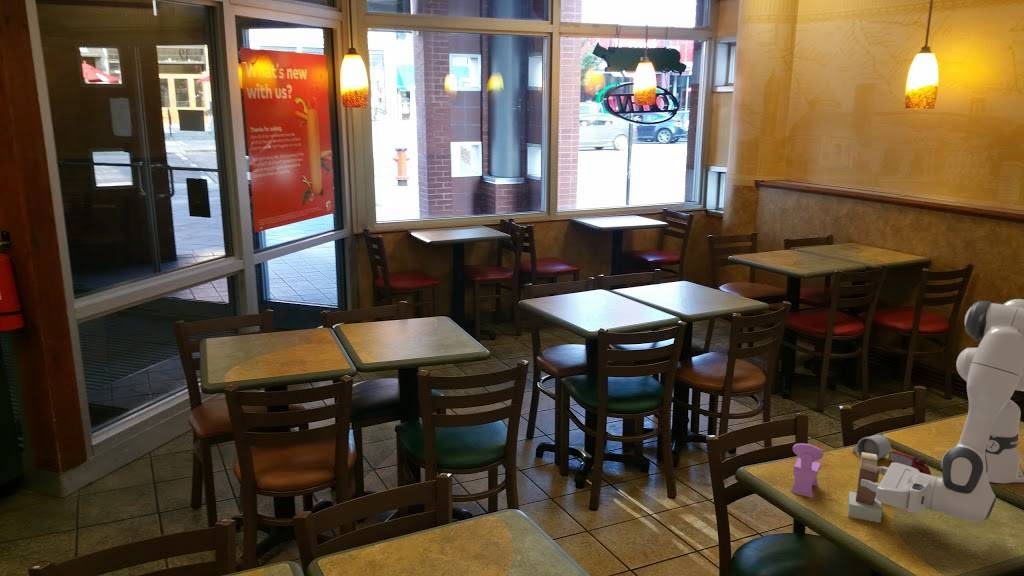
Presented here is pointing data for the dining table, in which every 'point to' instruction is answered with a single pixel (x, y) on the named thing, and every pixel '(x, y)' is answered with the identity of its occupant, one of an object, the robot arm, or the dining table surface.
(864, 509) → the pedestal block
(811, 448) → the toy chair
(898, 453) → the toy fire truck
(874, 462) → the maple block
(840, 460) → the dining table surface
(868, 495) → the walnut block
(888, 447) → the ceramic mug
